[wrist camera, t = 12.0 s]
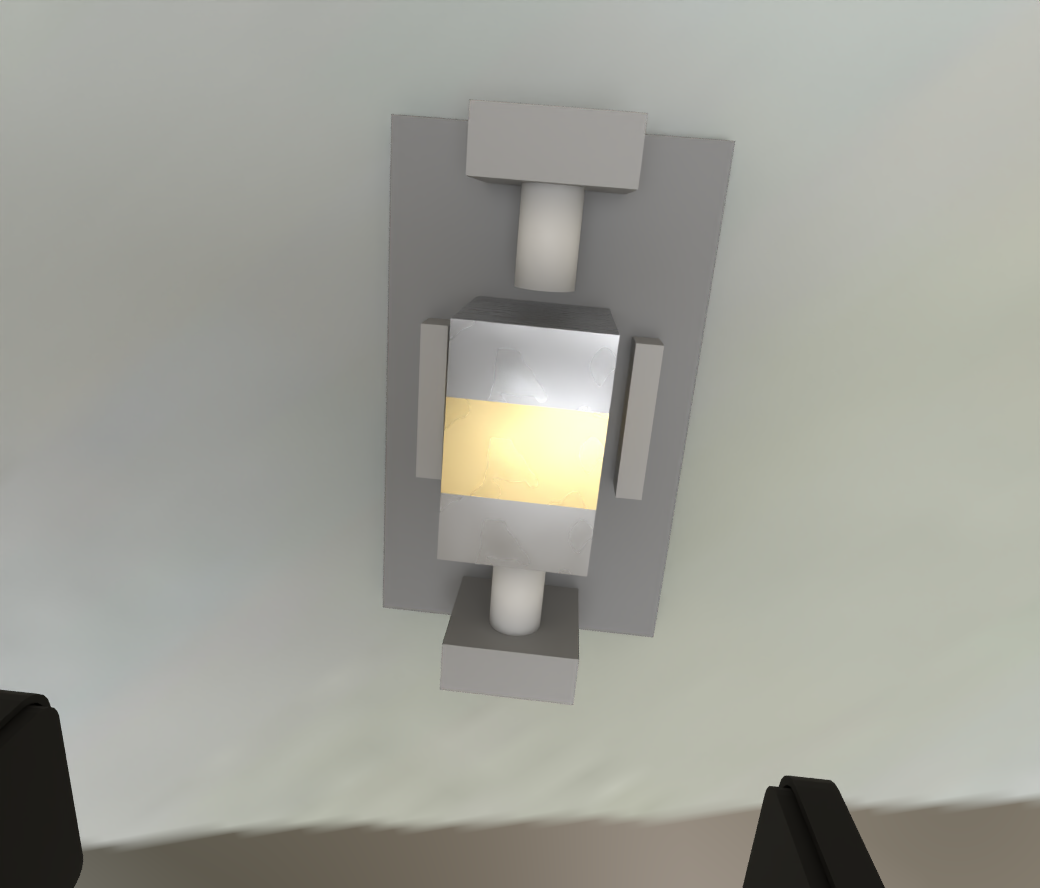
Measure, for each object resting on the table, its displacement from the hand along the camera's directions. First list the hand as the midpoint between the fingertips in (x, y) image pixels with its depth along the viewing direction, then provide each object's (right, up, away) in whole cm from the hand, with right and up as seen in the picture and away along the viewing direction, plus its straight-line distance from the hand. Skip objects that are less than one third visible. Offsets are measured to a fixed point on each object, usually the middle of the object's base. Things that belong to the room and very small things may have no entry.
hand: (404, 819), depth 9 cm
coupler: (+2, +6, +18) cm, 19 cm away
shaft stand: (+2, +7, +19) cm, 20 cm away
